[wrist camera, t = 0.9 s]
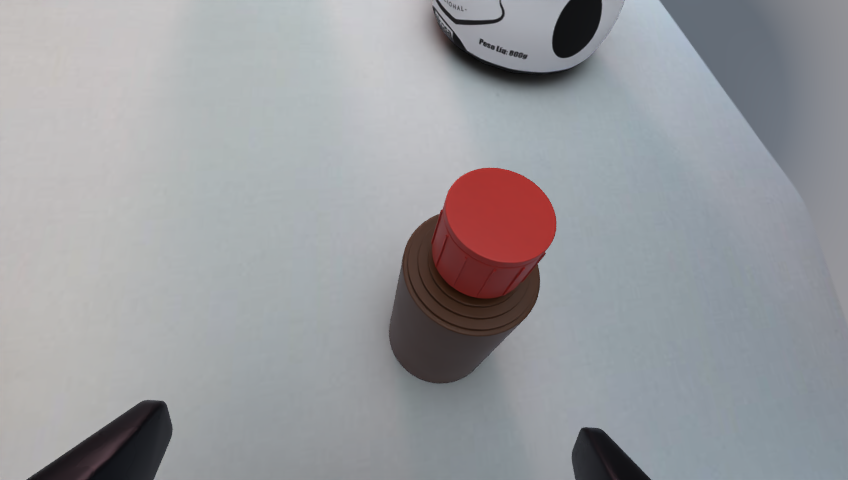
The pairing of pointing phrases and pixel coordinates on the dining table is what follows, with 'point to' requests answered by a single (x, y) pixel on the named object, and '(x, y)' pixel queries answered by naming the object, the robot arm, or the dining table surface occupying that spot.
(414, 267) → the bottle
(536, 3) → the milk container
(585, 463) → the robot arm
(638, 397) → the dining table surface
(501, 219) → the cap
